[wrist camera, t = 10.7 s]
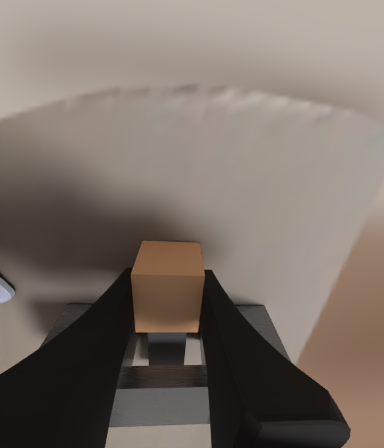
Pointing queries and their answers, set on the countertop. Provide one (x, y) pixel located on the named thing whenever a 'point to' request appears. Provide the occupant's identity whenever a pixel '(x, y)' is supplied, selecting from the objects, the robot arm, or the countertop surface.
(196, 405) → the grey bridge block
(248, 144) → the countertop surface
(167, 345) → the plug
